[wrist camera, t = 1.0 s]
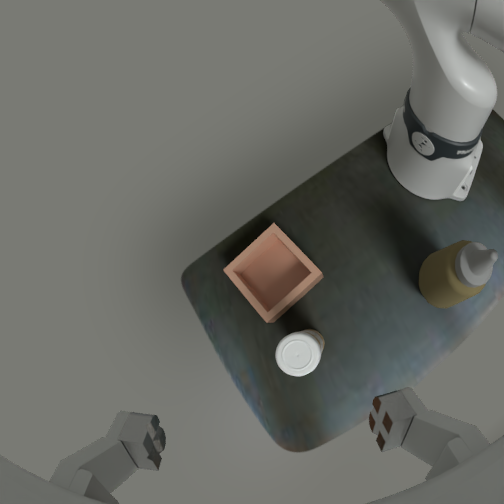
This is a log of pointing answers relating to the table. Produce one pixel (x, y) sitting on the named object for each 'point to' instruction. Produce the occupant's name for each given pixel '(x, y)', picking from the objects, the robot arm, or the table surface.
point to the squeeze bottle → (456, 273)
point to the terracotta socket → (273, 273)
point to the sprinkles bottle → (300, 352)
